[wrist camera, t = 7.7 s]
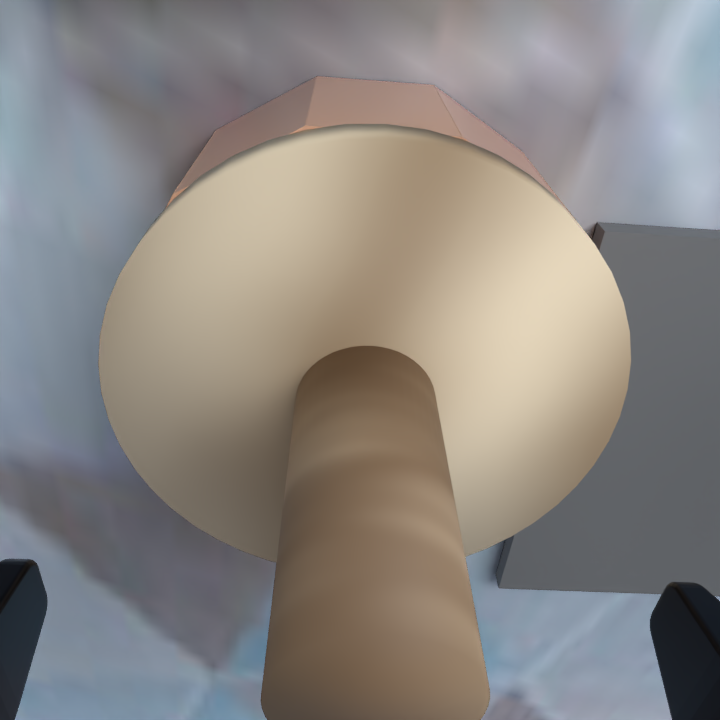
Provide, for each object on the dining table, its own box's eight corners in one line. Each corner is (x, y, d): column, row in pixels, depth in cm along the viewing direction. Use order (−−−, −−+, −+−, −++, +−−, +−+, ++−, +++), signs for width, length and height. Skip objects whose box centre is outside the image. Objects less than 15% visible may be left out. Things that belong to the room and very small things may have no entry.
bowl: (590, 96, 15) (670, 150, 11) (506, 430, 20) (540, 541, 17) (153, 63, 14) (83, 109, 11) (186, 415, 20) (148, 526, 16)
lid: (686, 143, 11) (1056, 375, 5) (549, 548, 17) (654, 874, 11) (72, 103, 11) (-265, 310, 5) (145, 534, 16) (32, 868, 11)
